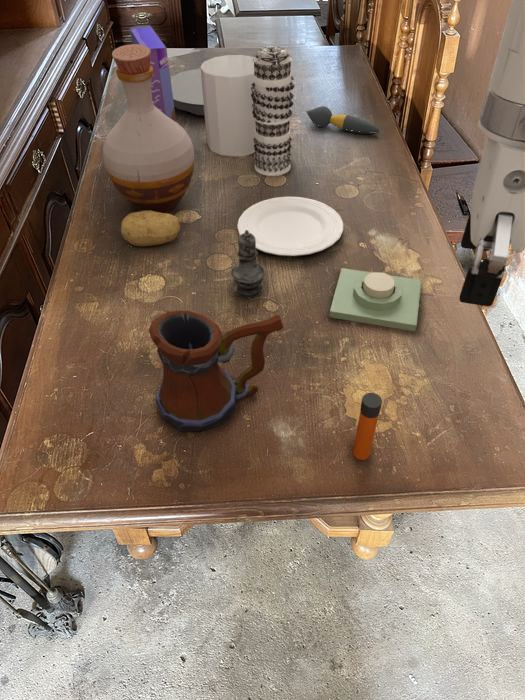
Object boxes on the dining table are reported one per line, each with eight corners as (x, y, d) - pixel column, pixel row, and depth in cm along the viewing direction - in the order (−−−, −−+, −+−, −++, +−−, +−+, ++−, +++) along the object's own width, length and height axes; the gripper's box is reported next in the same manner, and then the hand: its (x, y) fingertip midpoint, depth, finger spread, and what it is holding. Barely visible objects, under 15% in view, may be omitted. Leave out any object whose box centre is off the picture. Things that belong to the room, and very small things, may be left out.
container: (275, 137, 137) (275, 60, 124) (246, 161, 128) (243, 81, 115) (227, 126, 142) (222, 51, 129) (196, 148, 133) (187, 70, 120)
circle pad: (394, 282, 92) (396, 274, 90) (391, 301, 88) (393, 293, 87) (364, 278, 93) (366, 270, 91) (360, 296, 89) (362, 288, 88)
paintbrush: (380, 129, 139) (383, 110, 136) (377, 138, 136) (380, 118, 132) (306, 120, 144) (307, 101, 140) (301, 128, 141) (302, 108, 137)
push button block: (420, 286, 95) (423, 272, 93) (415, 331, 87) (418, 318, 85) (340, 274, 98) (342, 260, 95) (328, 317, 90) (330, 303, 87)
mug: (274, 361, 83) (274, 285, 72) (289, 421, 75) (292, 345, 64) (156, 377, 81) (138, 300, 70) (158, 440, 73) (138, 365, 62)
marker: (371, 447, 72) (383, 394, 64) (368, 462, 70) (380, 409, 62) (353, 444, 72) (363, 390, 64) (351, 458, 71) (360, 405, 63)
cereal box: (180, 156, 131) (166, 46, 113) (161, 159, 130) (143, 49, 112) (165, 127, 142) (150, 24, 125) (147, 130, 141) (129, 26, 124)
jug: (121, 181, 122) (88, 33, 101) (200, 177, 123) (184, 29, 102) (110, 230, 109) (70, 70, 87) (199, 225, 109) (181, 65, 88)
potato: (126, 234, 108) (120, 206, 103) (182, 231, 108) (178, 203, 104) (122, 253, 103) (116, 225, 98) (181, 250, 103) (177, 222, 99)
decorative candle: (298, 162, 127) (302, 45, 109) (281, 180, 122) (283, 60, 104) (264, 154, 130) (262, 40, 112) (246, 171, 125) (241, 53, 107)
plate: (334, 269, 98) (335, 261, 97) (225, 255, 102) (224, 247, 101) (349, 210, 113) (349, 201, 111) (252, 199, 116) (251, 191, 115)
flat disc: (273, 115, 146) (273, 98, 143) (170, 127, 142) (168, 109, 139) (251, 78, 165) (251, 63, 162) (160, 88, 161) (157, 72, 158)
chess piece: (229, 297, 93) (225, 239, 85) (235, 276, 97) (231, 218, 89) (263, 300, 93) (262, 241, 84) (267, 279, 97) (267, 221, 88)
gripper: (591, 165, 39) (515, 334, 52) (564, 80, 51) (508, 234, 63) (483, 154, 41) (435, 321, 53) (481, 73, 52) (442, 226, 65)
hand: (474, 273), depth 58 cm, fingers open, 9 cm apart
